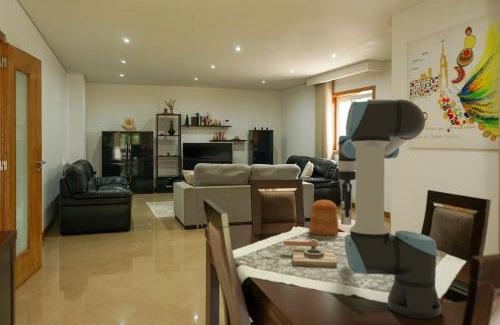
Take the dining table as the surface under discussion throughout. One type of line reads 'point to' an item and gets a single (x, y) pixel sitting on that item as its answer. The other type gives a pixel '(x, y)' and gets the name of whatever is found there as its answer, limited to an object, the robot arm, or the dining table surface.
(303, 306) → the dining table surface
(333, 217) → the bread
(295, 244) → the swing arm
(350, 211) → the leg peg
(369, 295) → the dining table surface
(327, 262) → the stool seat
